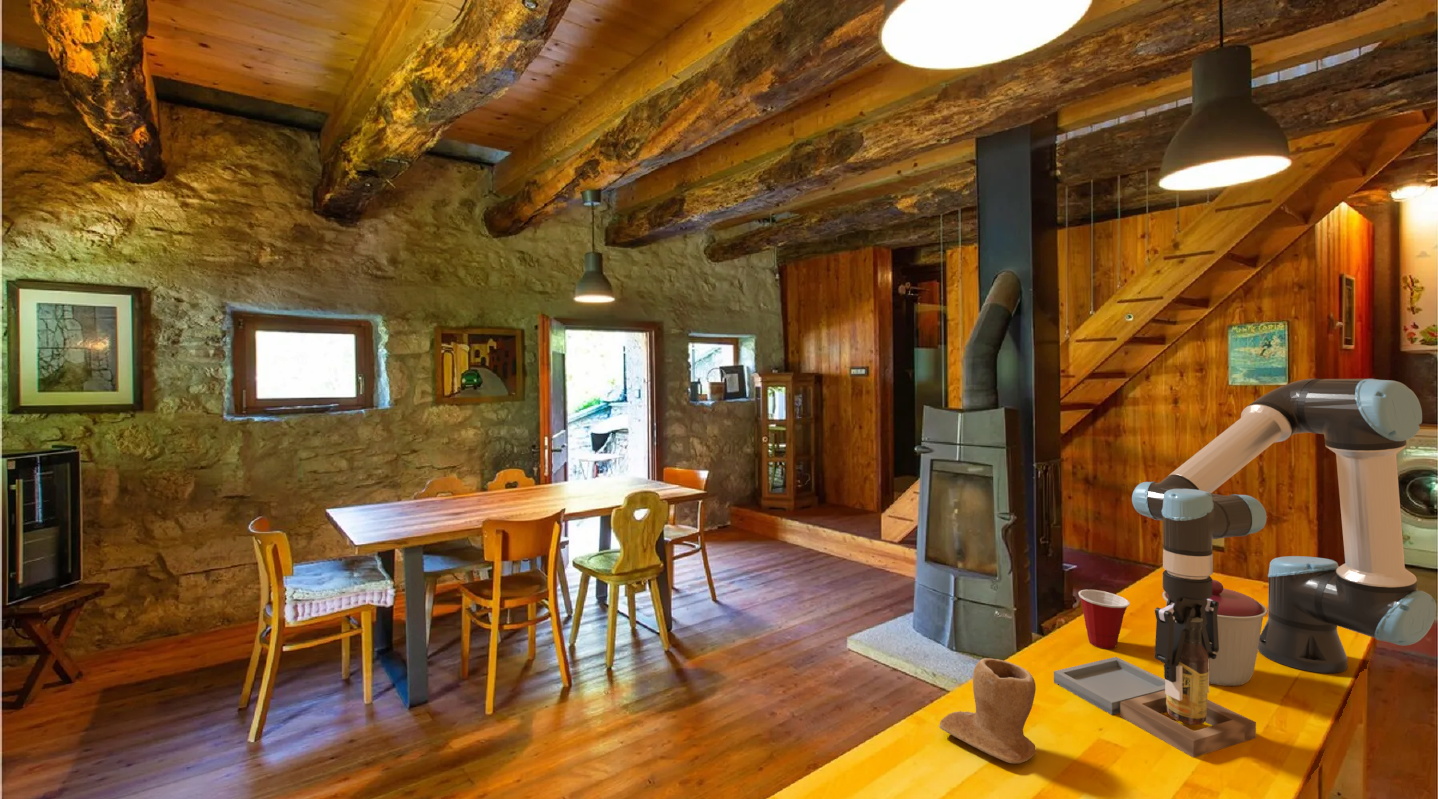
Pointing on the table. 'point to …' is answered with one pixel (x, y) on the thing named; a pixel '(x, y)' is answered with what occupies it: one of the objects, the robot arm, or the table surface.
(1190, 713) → the sauce bottle
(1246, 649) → the canister
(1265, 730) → the table surface
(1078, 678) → the tray
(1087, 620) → the plastic cup
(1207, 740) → the bottle stand
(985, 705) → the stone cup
